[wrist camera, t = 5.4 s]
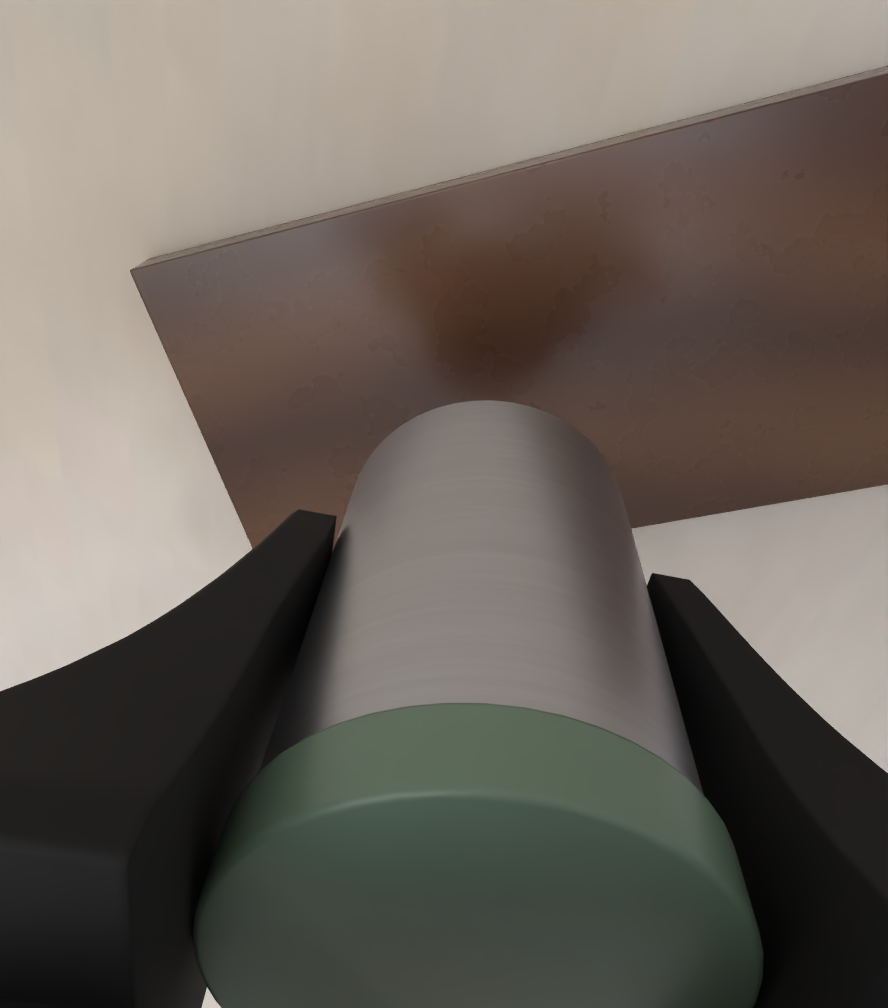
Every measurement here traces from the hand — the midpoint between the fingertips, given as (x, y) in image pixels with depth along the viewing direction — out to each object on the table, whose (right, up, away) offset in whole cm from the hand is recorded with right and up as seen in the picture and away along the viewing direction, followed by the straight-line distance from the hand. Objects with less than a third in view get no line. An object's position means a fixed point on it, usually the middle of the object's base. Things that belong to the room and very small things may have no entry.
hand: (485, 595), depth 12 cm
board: (+5, +6, +8) cm, 11 cm away
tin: (0, +1, +2) cm, 2 cm away
